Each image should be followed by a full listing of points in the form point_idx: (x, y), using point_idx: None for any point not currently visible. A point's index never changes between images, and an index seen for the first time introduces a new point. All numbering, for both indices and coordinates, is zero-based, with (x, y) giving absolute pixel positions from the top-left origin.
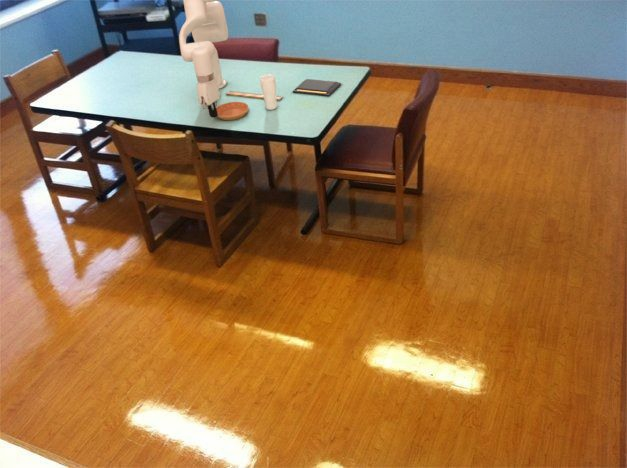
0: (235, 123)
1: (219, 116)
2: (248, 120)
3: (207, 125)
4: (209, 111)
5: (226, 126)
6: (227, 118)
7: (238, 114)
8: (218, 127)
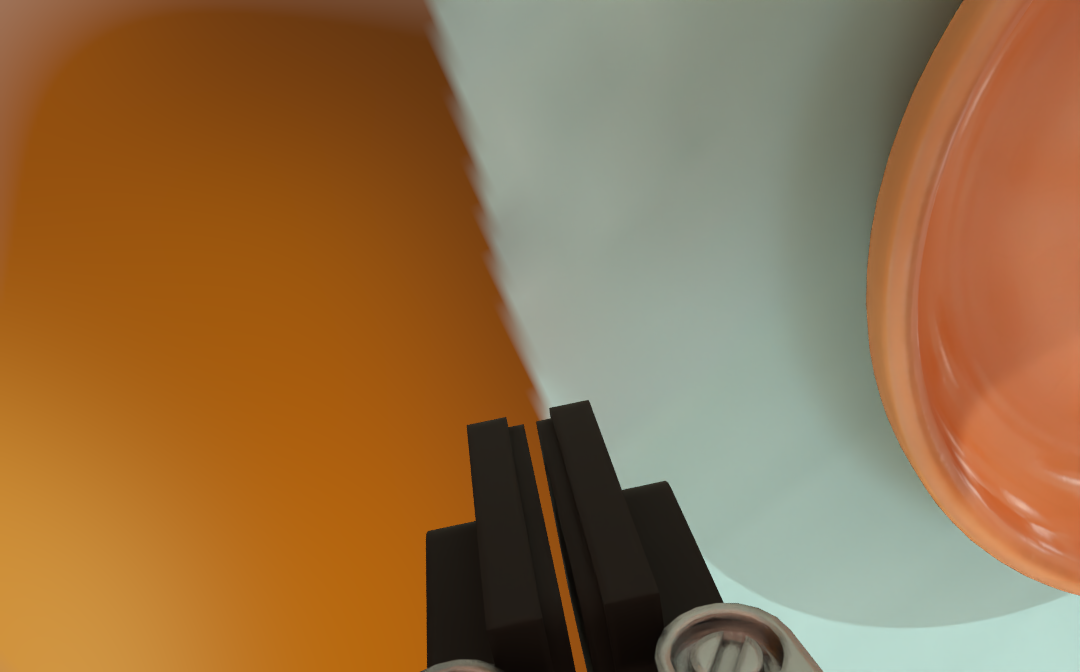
0: (840, 523)
1: (884, 225)
2: (1009, 634)
3: (530, 8)
4: (430, 650)
5: (668, 461)
6: (886, 411)
7: (1061, 589)
8: (562, 345)
